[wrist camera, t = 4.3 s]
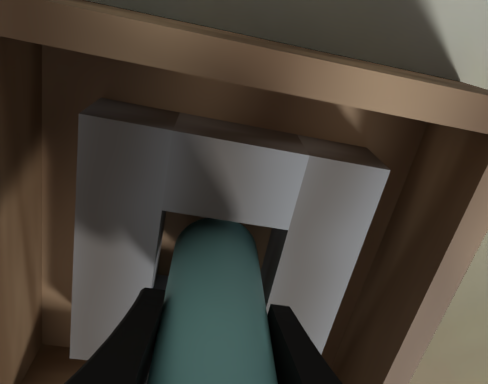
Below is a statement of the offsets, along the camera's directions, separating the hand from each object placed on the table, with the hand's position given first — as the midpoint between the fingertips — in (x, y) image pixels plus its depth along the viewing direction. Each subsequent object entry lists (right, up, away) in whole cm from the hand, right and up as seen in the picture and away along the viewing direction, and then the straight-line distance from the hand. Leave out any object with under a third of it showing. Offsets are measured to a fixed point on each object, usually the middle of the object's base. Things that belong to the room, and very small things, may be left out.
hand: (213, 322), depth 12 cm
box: (0, +2, +5) cm, 6 cm away
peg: (0, +2, +3) cm, 4 cm away
